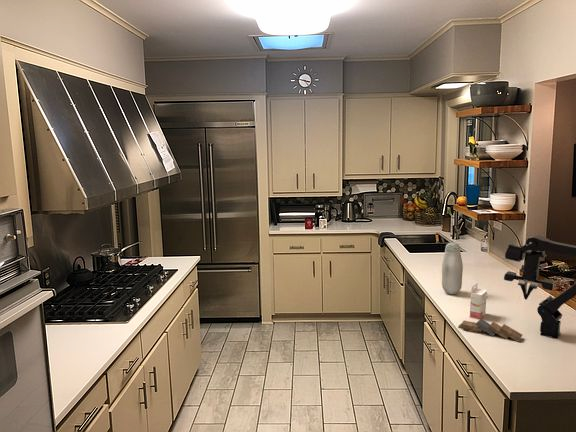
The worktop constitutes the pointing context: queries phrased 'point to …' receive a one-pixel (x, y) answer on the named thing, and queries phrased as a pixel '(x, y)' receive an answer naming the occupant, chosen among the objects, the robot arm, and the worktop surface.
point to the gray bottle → (452, 269)
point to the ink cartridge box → (478, 302)
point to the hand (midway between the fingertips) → (525, 299)
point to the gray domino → (485, 326)
